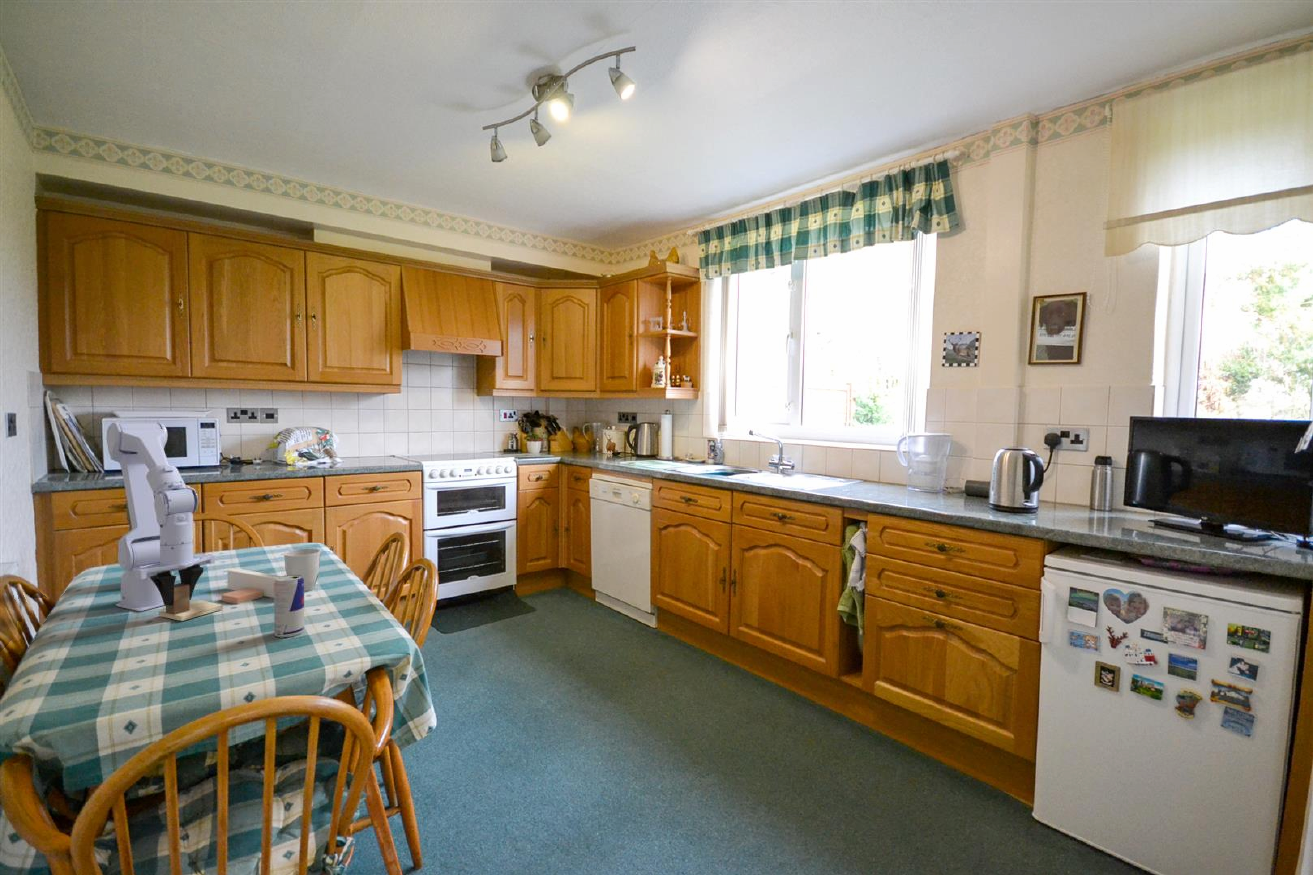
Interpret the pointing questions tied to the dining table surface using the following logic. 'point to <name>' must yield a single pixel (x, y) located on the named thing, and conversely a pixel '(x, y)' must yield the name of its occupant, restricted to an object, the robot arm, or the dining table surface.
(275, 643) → the dining table surface
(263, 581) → the batten
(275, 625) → the energy drink
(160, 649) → the dining table surface
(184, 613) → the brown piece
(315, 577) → the cup
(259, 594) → the tile
